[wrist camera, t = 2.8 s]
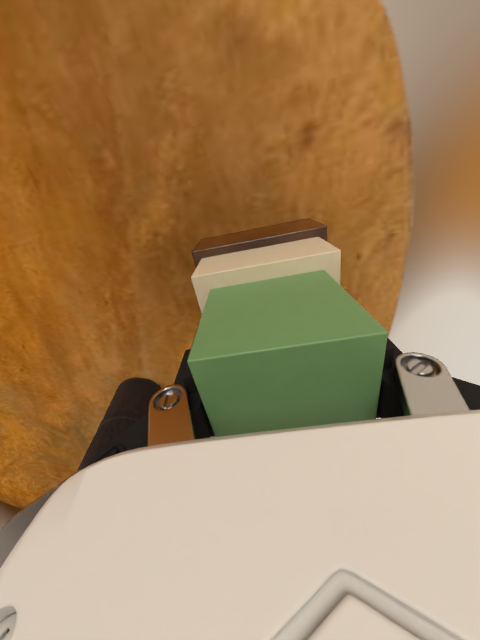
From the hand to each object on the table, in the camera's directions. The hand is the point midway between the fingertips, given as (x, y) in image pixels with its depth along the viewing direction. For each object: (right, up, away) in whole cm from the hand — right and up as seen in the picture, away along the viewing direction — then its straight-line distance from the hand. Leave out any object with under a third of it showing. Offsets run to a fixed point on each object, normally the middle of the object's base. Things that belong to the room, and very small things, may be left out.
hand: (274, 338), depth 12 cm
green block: (0, 0, +1) cm, 1 cm away
